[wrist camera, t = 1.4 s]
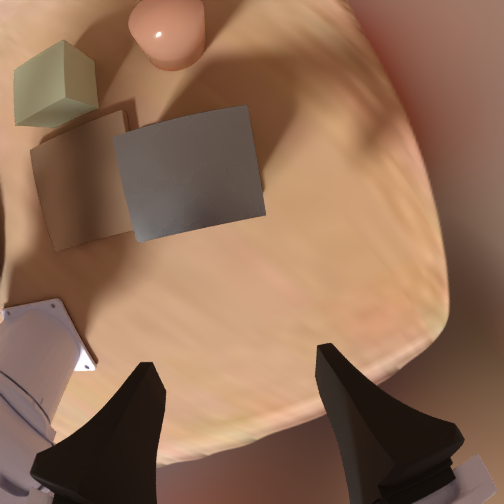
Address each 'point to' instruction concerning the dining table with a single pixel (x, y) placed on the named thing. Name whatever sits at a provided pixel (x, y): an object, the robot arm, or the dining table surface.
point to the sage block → (54, 87)
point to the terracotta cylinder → (169, 31)
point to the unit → (190, 173)
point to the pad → (82, 183)
